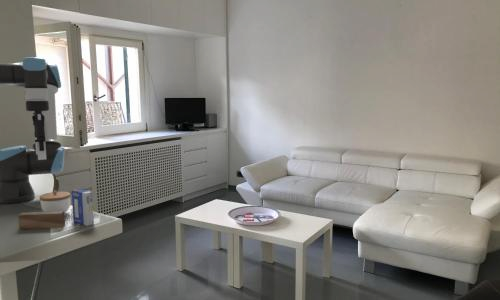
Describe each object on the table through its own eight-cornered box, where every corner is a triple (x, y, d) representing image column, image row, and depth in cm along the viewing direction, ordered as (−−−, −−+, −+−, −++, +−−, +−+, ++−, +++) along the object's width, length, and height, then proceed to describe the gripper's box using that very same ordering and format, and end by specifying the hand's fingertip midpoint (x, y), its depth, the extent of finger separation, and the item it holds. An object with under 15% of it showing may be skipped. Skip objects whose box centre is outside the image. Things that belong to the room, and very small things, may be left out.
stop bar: (22, 226, 140) (21, 212, 140) (65, 224, 142) (64, 211, 142) (19, 229, 137) (18, 215, 137) (62, 227, 139) (61, 213, 139)
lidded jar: (77, 212, 157) (76, 189, 156) (52, 220, 148) (50, 195, 146) (60, 209, 162) (59, 186, 161) (34, 215, 153) (33, 191, 152)
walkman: (73, 222, 145) (71, 189, 143) (80, 220, 147) (78, 188, 146) (87, 225, 141) (85, 192, 139) (94, 223, 143) (92, 191, 142)
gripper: (24, 99, 157) (28, 152, 160) (26, 101, 136) (31, 162, 139) (45, 99, 161) (49, 151, 164) (51, 101, 140) (55, 161, 143)
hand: (41, 156), depth 152 cm, fingers open, 13 cm apart
